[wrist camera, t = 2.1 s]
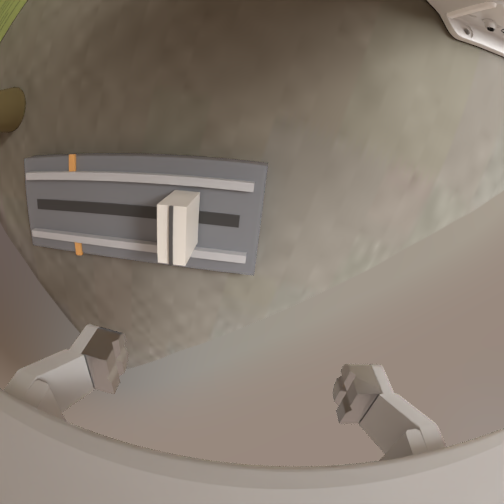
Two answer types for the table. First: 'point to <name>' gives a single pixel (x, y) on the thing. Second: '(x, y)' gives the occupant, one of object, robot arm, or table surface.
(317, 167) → the table surface
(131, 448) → the robot arm
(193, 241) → the fader tab
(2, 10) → the protein box
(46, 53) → the table surface
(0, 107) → the cork
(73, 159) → the pair of orange ticks
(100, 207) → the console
